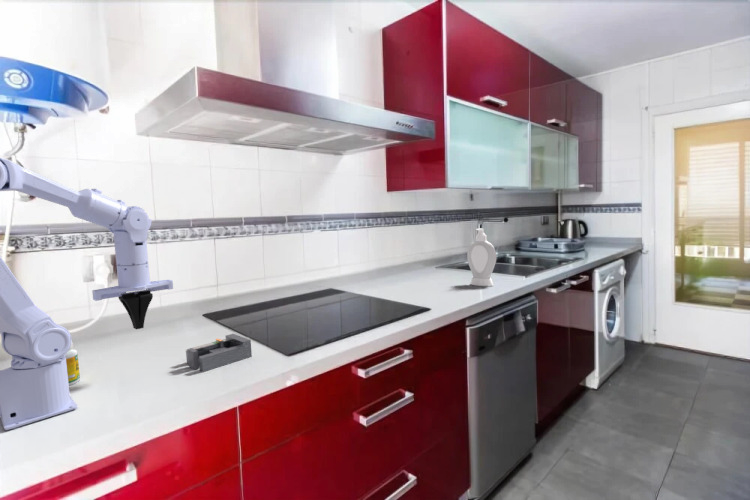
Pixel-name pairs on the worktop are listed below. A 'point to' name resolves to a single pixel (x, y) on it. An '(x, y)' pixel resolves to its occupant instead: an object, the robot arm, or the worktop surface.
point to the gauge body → (223, 352)
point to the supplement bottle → (72, 366)
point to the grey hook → (193, 355)
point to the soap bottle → (481, 260)
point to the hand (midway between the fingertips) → (138, 327)
